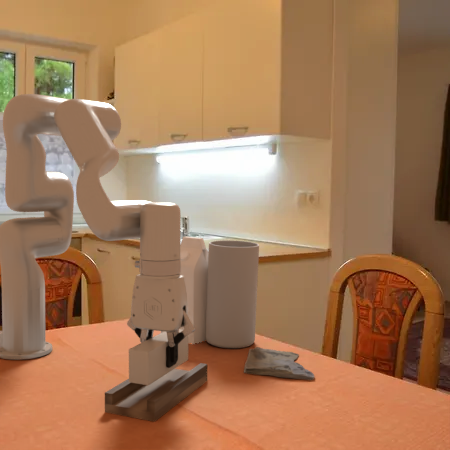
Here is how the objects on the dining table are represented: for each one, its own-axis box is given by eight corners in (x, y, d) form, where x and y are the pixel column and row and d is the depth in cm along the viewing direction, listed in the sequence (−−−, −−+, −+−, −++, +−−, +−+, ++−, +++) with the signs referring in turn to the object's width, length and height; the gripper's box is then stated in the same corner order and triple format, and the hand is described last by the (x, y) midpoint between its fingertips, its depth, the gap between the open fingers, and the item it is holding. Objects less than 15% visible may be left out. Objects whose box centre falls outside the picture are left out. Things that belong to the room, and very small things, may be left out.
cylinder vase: (196, 337, 150) (199, 241, 147) (237, 332, 156) (241, 239, 154) (221, 352, 139) (225, 248, 137) (264, 345, 146) (269, 246, 143)
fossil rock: (247, 355, 140) (248, 345, 140) (311, 358, 138) (311, 348, 138) (242, 379, 122) (242, 368, 122) (314, 383, 121) (314, 372, 121)
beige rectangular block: (128, 382, 104) (128, 349, 104) (170, 357, 119) (170, 328, 119) (148, 385, 103) (148, 351, 102) (188, 359, 118) (188, 330, 117)
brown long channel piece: (104, 411, 103) (104, 392, 103) (163, 374, 123) (164, 357, 123) (154, 421, 99) (154, 401, 99) (207, 380, 120) (207, 364, 119)
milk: (223, 335, 155) (224, 237, 152) (193, 344, 146) (194, 240, 144) (190, 327, 162) (191, 234, 160) (160, 335, 154) (160, 237, 152)
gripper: (111, 268, 109) (111, 364, 111) (192, 274, 103) (191, 376, 104) (132, 263, 116) (132, 353, 118) (209, 268, 110) (208, 363, 111)
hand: (160, 363), depth 111 cm, fingers closed on beige rectangular block, 4 cm apart
